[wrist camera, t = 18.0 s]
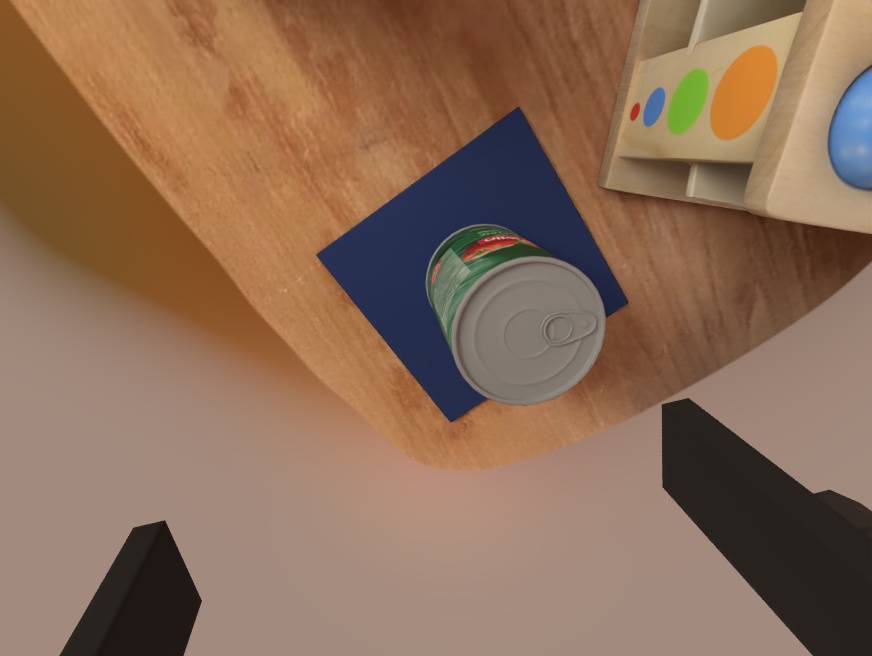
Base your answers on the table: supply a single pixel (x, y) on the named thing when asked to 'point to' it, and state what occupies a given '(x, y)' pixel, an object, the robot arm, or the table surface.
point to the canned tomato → (514, 315)
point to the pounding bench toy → (749, 108)
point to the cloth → (444, 215)
